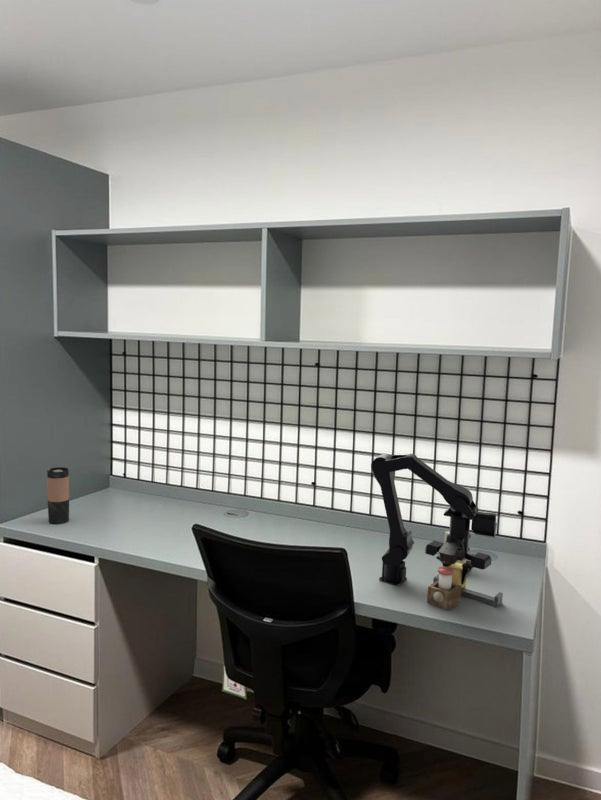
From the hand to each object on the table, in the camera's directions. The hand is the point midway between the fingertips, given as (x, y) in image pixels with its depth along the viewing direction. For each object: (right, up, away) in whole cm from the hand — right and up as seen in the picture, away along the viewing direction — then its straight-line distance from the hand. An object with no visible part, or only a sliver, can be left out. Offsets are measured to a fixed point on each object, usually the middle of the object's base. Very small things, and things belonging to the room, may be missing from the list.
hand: (455, 582), depth 191 cm
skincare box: (+4, -1, +19) cm, 19 cm away
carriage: (0, -3, 0) cm, 3 cm away
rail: (+3, -4, -2) cm, 5 cm away
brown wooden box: (-5, -4, -7) cm, 10 cm away
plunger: (-5, -1, -7) cm, 9 cm away
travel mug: (-138, +8, +51) cm, 147 cm away
